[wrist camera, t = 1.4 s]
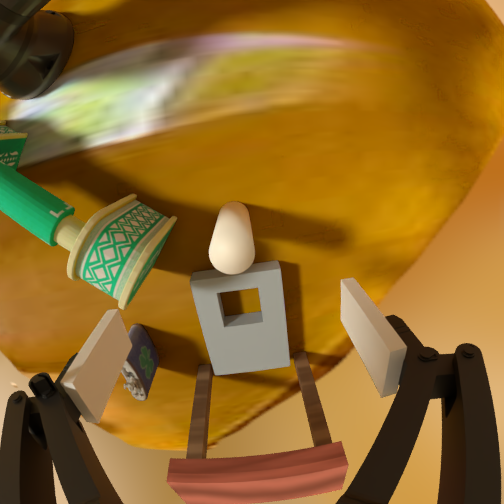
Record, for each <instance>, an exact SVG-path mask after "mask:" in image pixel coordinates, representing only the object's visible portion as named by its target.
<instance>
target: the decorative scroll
mask: <svg viewBox="0 0 504 504" xmlns="http://www.w3.org/2000/svg"><path fill="white" fill-rule="evenodd" d="M5 124H6V121H0V210H1V211H3V212H4V213H5V214H7V215H8V216H9V217H11V218H12V219H13V220H15V221H16V222H17V223H19V224H20V225H21V226H23V227H24V228H26V229H27V230H28V231H30V232H31V233H33V234H34V235H36V236H37V237H38V238H40V239H41V240H43V241H44V242H46V243H47V244H49V245H50V246H56V245H57V244H59V245H61V246H62V247H64V248H66V249H67V250H69V251H70V252H71V253H70V256H69V260H68V264H67V274H68V277H69V278H71V279H73V280H74V281H76V280H79V279H80V278H82V279H83V280H85V281H87V282H88V283H90V284H91V285H93V286H95V287H96V288H98V289H100V290H102V291H103V292H105V293H107V294H108V295H110V296H112V297H114V298H115V299H117V300H119V305H118V307H119V308H121V309H123V310H125V309H126V308H127V307H128V305H129V304H130V302H131V301H132V299H133V298H134V296H135V294H136V293H137V291H138V290H139V288H140V286H141V285H142V283H143V282H144V280H145V279H146V277H147V276H148V274H149V272H150V271H151V269H152V268H153V266H154V264H155V262H156V260H157V258H158V256H159V254H160V252H161V250H162V248H163V246H164V244H165V242H166V240H167V238H168V236H169V234H170V232H171V230H172V228H173V226H174V224H175V222H176V220H177V217H175V216H172V217H171V218H170V219H169V218H168V217H166V216H164V215H162V214H160V213H159V212H157V211H155V210H153V209H151V208H150V207H148V206H146V205H144V204H142V203H141V202H139V201H137V200H136V197H137V195H136V194H134V193H133V194H131V195H129V196H127V197H125V198H123V199H121V200H119V201H117V202H115V203H113V204H111V205H109V206H107V207H105V208H103V209H101V210H99V211H98V212H97V213H95V214H94V215H93V216H92V217H91V218H90V219H89V221H88V222H87V223H84V222H82V221H81V220H79V219H77V218H76V217H74V216H73V214H74V211H75V209H74V207H72V206H70V205H69V204H67V203H65V202H64V201H62V200H61V199H59V198H57V197H56V196H54V195H53V194H51V193H49V192H48V191H46V190H45V189H43V188H42V187H40V186H38V185H37V184H35V183H34V182H32V181H31V180H29V179H28V178H26V177H25V176H23V175H22V174H20V173H18V172H17V171H16V169H17V166H18V162H19V159H20V156H21V153H22V150H23V147H24V144H25V141H26V138H27V135H28V134H27V133H18V132H16V131H14V130H12V129H11V128H9V127H7V126H6V125H5Z"/></svg>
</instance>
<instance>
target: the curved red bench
mask: <svg viewBox="0 0 504 504" xmlns="http://www.w3.org/2000/svg"><path fill="white" fill-rule="evenodd" d="M294 363H295V367H296V372H297V376H298V380H299V384H300V388H301V392H302V396H303V401H304V405H305V409H306V413H307V417H308V422H309V426H310V430H311V434H312V438H313V443H314V447H312V448H307V449H301V450H294V451H289V452H281V453H274V454H266V455H257V456H246V457H234V458H214V459H213V458H212V459H206V453H207V439H208V425H209V412H210V400H211V388H212V377H213V371H212V368H211V364H205V365H199V368H198V374H197V381H196V388H195V395H194V402H193V409H192V417H191V424H190V432H189V440H188V448H187V457H186V459H172V458H171V459H170V463H169V469H168V476H167V483H168V484H169V485H170V486H171V488H172V489H173V490H174V491H175V492H176V493H177V494H178V495H179V496H180V497H181V498H182V499H183V500H184V501H185V502H186V504H249V503H262V502H272V501H280V500H287V499H294V498H300V497H306V496H312V495H317V494H322V493H327V492H331V491H336V490H340V489H342V487H343V483H344V480H345V476H346V472H347V468H348V462H347V459H346V455H345V452H344V449H343V446H342V442H341V441H340V442H335V443H332V440H331V437H330V433H329V430H328V426H327V422H326V419H325V416H324V412H323V409H322V405H321V403H320V399H319V396H318V392H317V388H316V385H315V382H314V378H313V375H312V372H311V368H310V365H309V362H308V359H307V355H306V352H305V351H304V352H298V353H294Z"/></svg>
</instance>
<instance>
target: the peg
mask: <svg viewBox="0 0 504 504" xmlns="http://www.w3.org/2000/svg"><path fill="white" fill-rule="evenodd" d="M254 257H255V248H254V242H253V235H252V229H251V223H250V216H249V211H248V209H247V208H246V206H245V205H243V204H242V203H240V202H236V201H232V202H228V203H226V204H225V205H224V206H223V207H222V208H221V209H220V212H219V215H218V219H217V222H216V226H215V229H214V233H213V236H212V240H211V244H210V247H209V258H210V261H211V263H212V264H213V266H214V267H215V268H216V269H217V270H219V271H221V272H223V273H226V274H239V273H241V272H244V271H245V270H247V269H248V268H249V267H250V266H251V264H252V263H253V260H254Z"/></svg>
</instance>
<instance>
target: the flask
mask: <svg viewBox="0 0 504 504" xmlns="http://www.w3.org/2000/svg"><path fill="white" fill-rule="evenodd" d="M128 336H129V339H130V341H131V343H132V348H131V350H130V352H129V354H128V356H127V359H126V361H125V363H124V365H123V367H122V370H121V372H122V374H123V376H124V377H125V379H126V381H127V382H126V383H127V384H124V389H126V387H128V388H129V391H131V393H132V395H133V397H134V398H136V399H137V400H140V401H144V400H146V399H147V397H148V393H149V390H150V387H151V384H152V381H153V378H154V375H155V372H156V369H157V367H158V364H159V357H158V353H157V350H156V348H155V346H154V344H153V342H152V340H151V338H150V336H149V335H148V333H147V331H146V330H145V328H144V327H143V326H142V325H140V324H137V325H136V324H134V325H132V327H131V329H130V331H129V333H128Z"/></svg>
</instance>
